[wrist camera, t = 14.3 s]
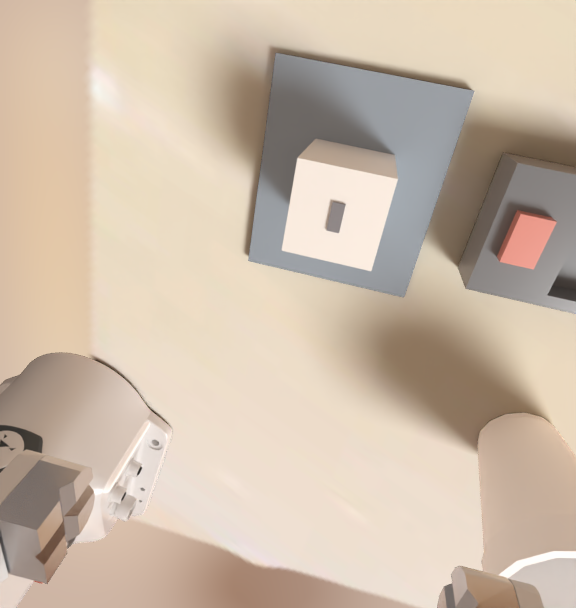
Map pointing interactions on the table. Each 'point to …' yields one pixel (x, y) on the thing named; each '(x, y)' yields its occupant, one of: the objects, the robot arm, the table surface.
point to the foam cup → (529, 505)
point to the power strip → (557, 249)
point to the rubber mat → (364, 134)
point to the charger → (339, 203)
